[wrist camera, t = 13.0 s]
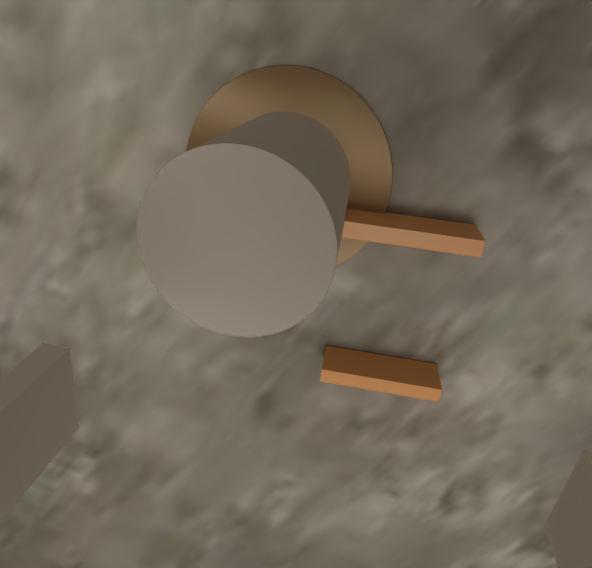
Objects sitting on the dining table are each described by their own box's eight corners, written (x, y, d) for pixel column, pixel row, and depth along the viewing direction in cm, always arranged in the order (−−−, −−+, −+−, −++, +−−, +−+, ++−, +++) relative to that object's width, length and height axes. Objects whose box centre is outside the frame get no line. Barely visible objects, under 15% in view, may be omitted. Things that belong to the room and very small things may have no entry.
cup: (196, 181, 30) (100, 247, 20) (279, 80, 27) (218, 93, 16) (289, 265, 32) (247, 369, 21) (378, 179, 29) (381, 250, 18)
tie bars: (347, 206, 30) (344, 221, 27) (475, 224, 29) (485, 241, 27) (324, 356, 35) (320, 381, 32) (433, 375, 34) (438, 401, 32)
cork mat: (187, 53, 28) (185, 53, 27) (412, 78, 27) (412, 79, 26) (187, 258, 33) (185, 260, 33) (372, 286, 32) (372, 289, 32)
